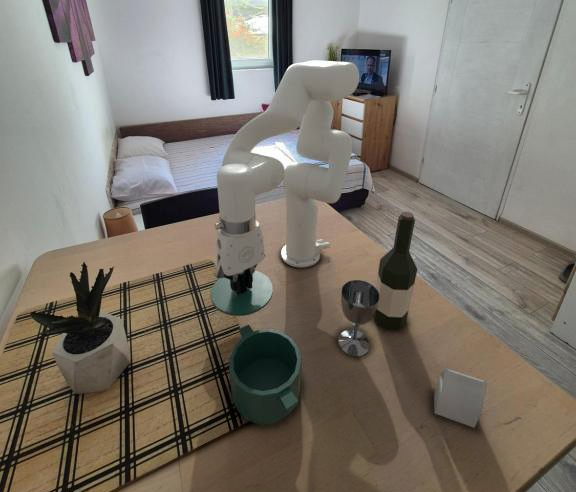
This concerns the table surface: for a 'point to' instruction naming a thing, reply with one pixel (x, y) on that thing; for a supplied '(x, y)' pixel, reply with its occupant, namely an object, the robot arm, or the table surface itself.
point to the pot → (265, 375)
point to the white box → (459, 397)
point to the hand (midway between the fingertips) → (242, 287)
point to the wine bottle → (396, 277)
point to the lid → (242, 295)
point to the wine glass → (357, 315)
